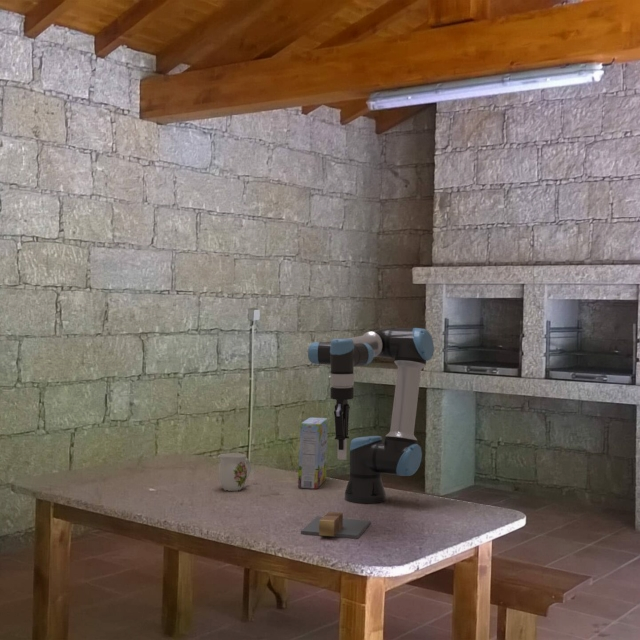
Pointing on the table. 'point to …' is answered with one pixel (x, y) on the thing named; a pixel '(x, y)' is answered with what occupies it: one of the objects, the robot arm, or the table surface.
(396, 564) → the table surface
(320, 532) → the post
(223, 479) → the pitcher
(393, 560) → the table surface
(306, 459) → the snack box
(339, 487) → the table surface
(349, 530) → the mat
